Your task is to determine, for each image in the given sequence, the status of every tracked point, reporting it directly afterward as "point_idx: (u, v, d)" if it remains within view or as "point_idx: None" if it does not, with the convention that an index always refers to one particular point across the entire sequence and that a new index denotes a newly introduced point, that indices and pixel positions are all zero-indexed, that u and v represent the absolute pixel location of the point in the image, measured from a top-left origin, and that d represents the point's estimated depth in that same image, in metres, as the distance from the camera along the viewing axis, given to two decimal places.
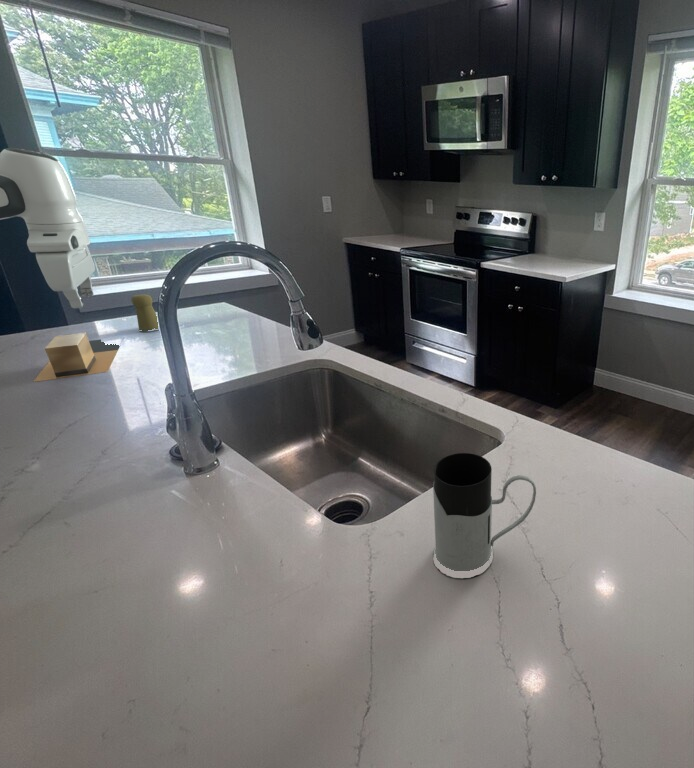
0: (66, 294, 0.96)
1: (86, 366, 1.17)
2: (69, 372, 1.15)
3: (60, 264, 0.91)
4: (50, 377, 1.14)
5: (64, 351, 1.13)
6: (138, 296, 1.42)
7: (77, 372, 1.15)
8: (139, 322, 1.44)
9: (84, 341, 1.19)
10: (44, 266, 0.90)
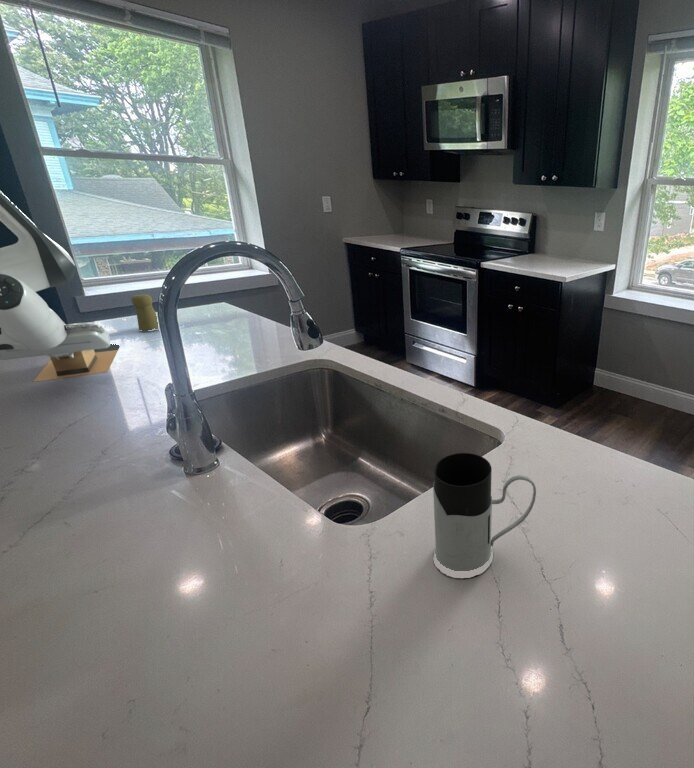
0: None
1: (87, 365, 1.17)
2: (70, 371, 1.15)
3: None
4: (50, 377, 1.14)
5: None
6: (138, 296, 1.42)
7: (78, 371, 1.16)
8: (139, 322, 1.44)
9: None
10: None
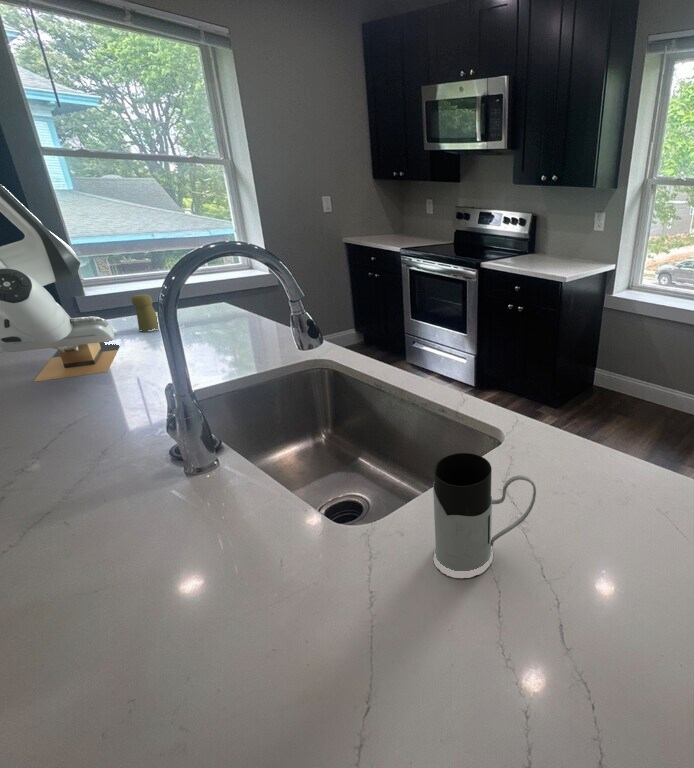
0: None
1: (93, 358, 1.21)
2: (77, 363, 1.20)
3: None
4: (50, 377, 1.14)
5: None
6: (138, 296, 1.42)
7: (85, 363, 1.20)
8: (139, 322, 1.44)
9: None
10: None
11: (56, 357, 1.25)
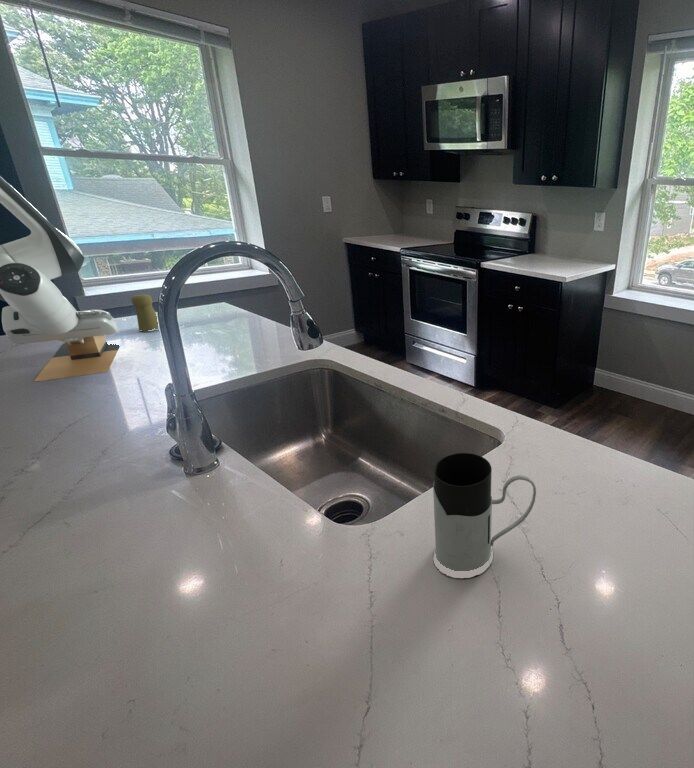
0: None
1: (99, 350, 1.26)
2: (83, 356, 1.24)
3: None
4: (50, 377, 1.14)
5: None
6: (138, 296, 1.42)
7: (90, 355, 1.25)
8: (139, 322, 1.44)
9: None
10: None
11: (56, 357, 1.25)
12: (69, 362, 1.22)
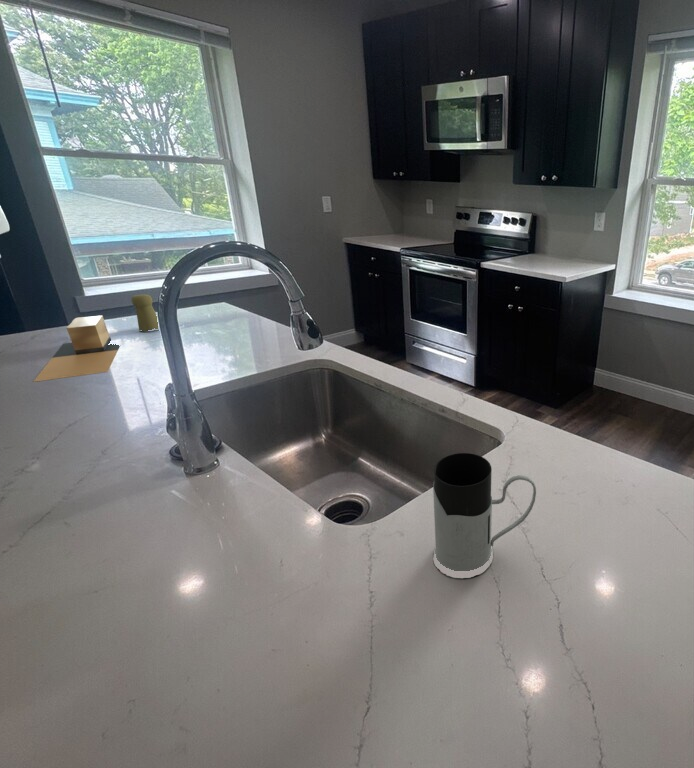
0: None
1: (103, 345, 1.30)
2: (88, 350, 1.28)
3: None
4: (50, 377, 1.14)
5: (83, 331, 1.26)
6: (138, 296, 1.42)
7: (95, 350, 1.29)
8: (139, 322, 1.44)
9: (101, 322, 1.32)
10: None
11: (56, 357, 1.25)
12: (69, 362, 1.22)
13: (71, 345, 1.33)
